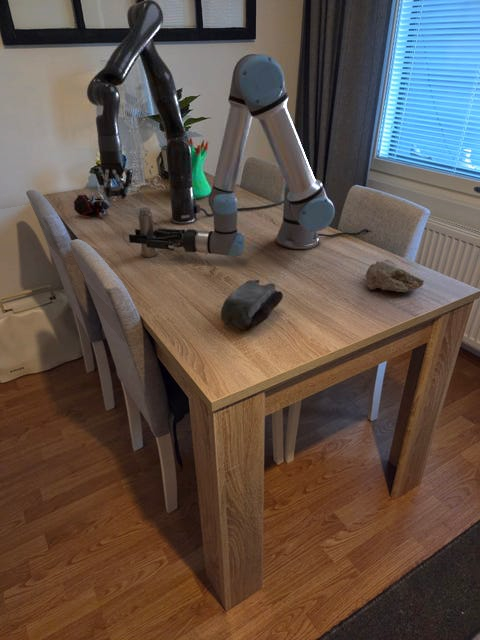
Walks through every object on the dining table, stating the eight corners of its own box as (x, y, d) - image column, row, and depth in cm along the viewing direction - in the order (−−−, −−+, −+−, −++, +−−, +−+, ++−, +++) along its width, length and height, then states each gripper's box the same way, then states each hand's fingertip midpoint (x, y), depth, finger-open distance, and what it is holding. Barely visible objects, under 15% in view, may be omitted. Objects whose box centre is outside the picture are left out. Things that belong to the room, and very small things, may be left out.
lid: (116, 191, 162) (115, 186, 161) (126, 193, 160) (125, 188, 159) (106, 194, 159) (105, 189, 158) (116, 197, 157) (115, 191, 156)
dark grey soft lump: (254, 340, 110) (255, 313, 105) (215, 329, 114) (214, 302, 110) (284, 308, 123) (285, 283, 119) (248, 299, 128) (248, 274, 124)
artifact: (384, 303, 127) (425, 296, 132) (391, 281, 123) (434, 275, 127) (349, 272, 141) (388, 267, 145) (355, 251, 136) (395, 247, 141)
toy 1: (101, 187, 180) (72, 186, 186) (93, 207, 178) (64, 205, 183) (117, 205, 191) (89, 203, 196) (109, 223, 188) (82, 221, 194)
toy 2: (167, 190, 223) (163, 137, 210) (207, 188, 227) (205, 135, 214) (172, 202, 206) (167, 145, 193) (214, 199, 210) (213, 143, 197)
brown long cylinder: (148, 258, 152) (143, 211, 144) (140, 254, 155) (135, 208, 146) (158, 254, 155) (154, 208, 147) (150, 250, 158) (145, 205, 149)
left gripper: (85, 149, 149) (93, 199, 158) (125, 151, 147) (131, 202, 156) (95, 144, 155) (102, 193, 164) (134, 147, 153) (139, 196, 162)
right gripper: (190, 262, 143) (123, 255, 147) (205, 242, 158) (143, 236, 162) (189, 240, 139) (120, 234, 143) (204, 221, 154) (141, 217, 158)
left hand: (116, 197), depth 160 cm, fingers closed on lid, 5 cm apart
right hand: (132, 235), depth 153 cm, fingers closed on brown long cylinder, 4 cm apart
